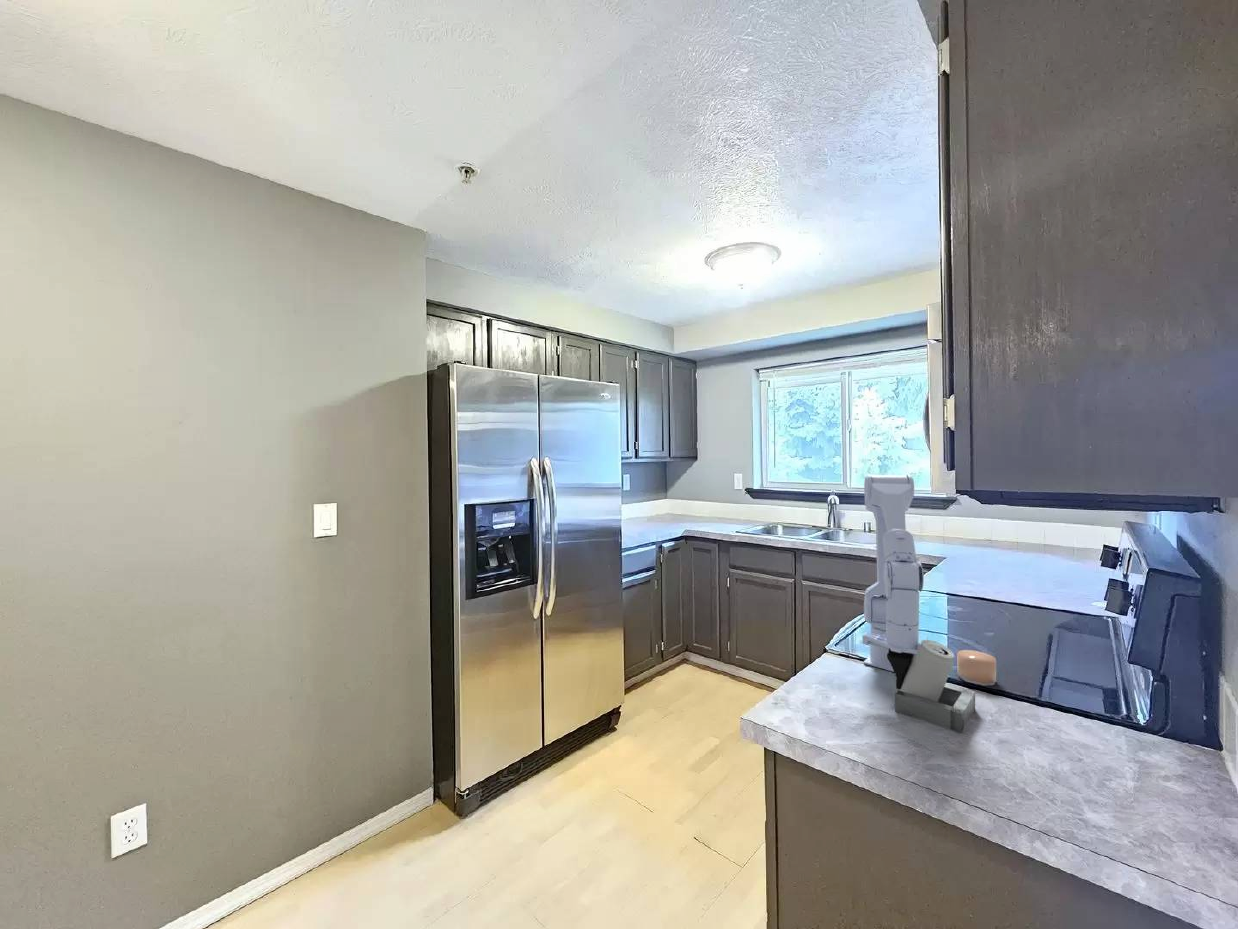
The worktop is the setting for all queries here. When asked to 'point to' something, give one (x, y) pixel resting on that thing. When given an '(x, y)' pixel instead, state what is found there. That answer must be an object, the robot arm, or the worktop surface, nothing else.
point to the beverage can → (928, 670)
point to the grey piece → (939, 707)
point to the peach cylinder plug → (976, 666)
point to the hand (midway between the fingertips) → (901, 687)
